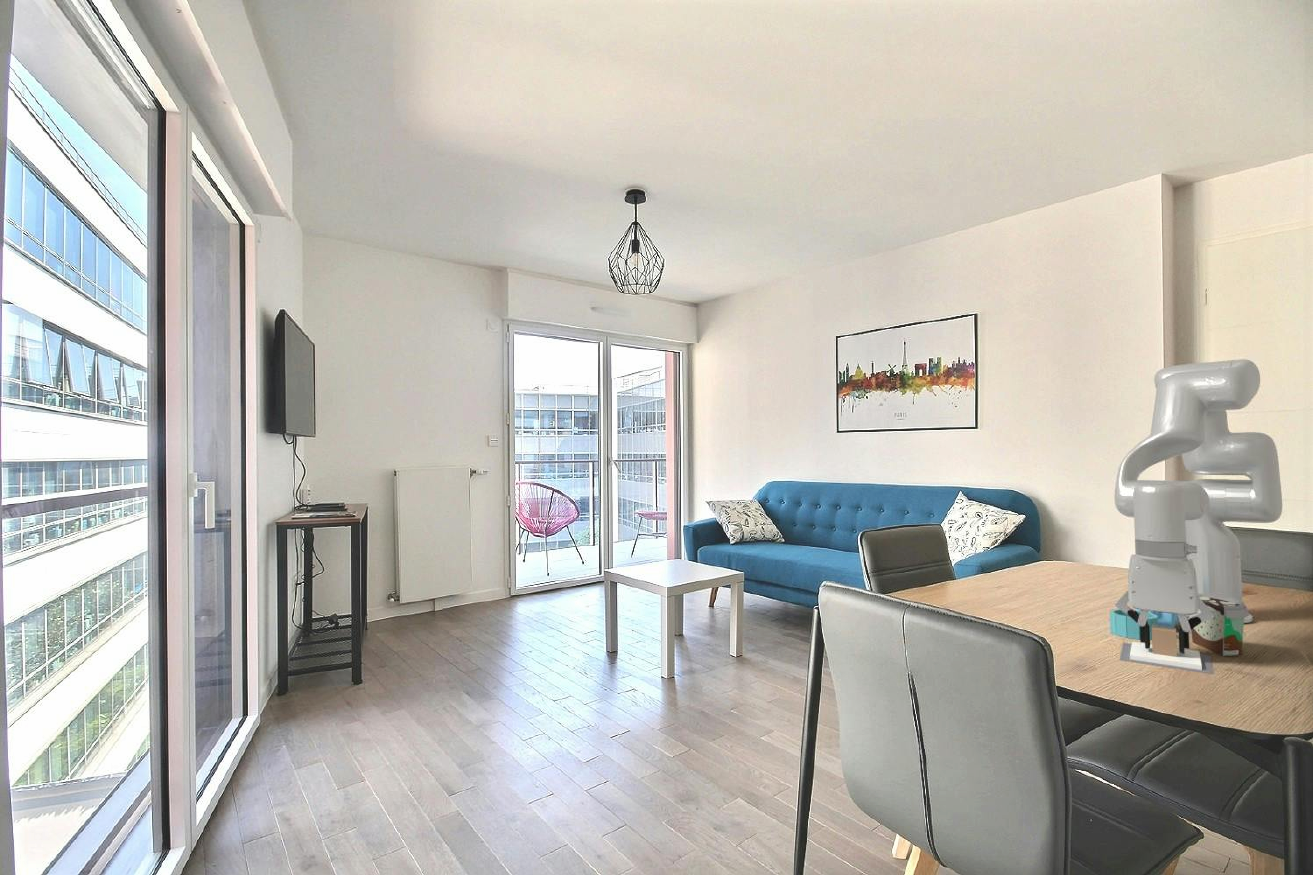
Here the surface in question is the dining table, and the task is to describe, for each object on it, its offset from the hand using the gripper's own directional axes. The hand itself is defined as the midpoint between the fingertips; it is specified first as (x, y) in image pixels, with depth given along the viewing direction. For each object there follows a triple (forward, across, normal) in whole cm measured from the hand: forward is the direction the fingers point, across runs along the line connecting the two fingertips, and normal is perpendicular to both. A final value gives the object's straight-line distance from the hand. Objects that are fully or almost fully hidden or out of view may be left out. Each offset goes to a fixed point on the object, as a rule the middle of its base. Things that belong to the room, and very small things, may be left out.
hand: (1164, 648), depth 117 cm
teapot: (+2, +1, -28) cm, 28 cm away
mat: (+2, 0, 0) cm, 2 cm away
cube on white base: (+2, 0, 0) cm, 2 cm away
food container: (+2, -9, -12) cm, 15 cm away
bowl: (+2, +5, -15) cm, 16 cm away
